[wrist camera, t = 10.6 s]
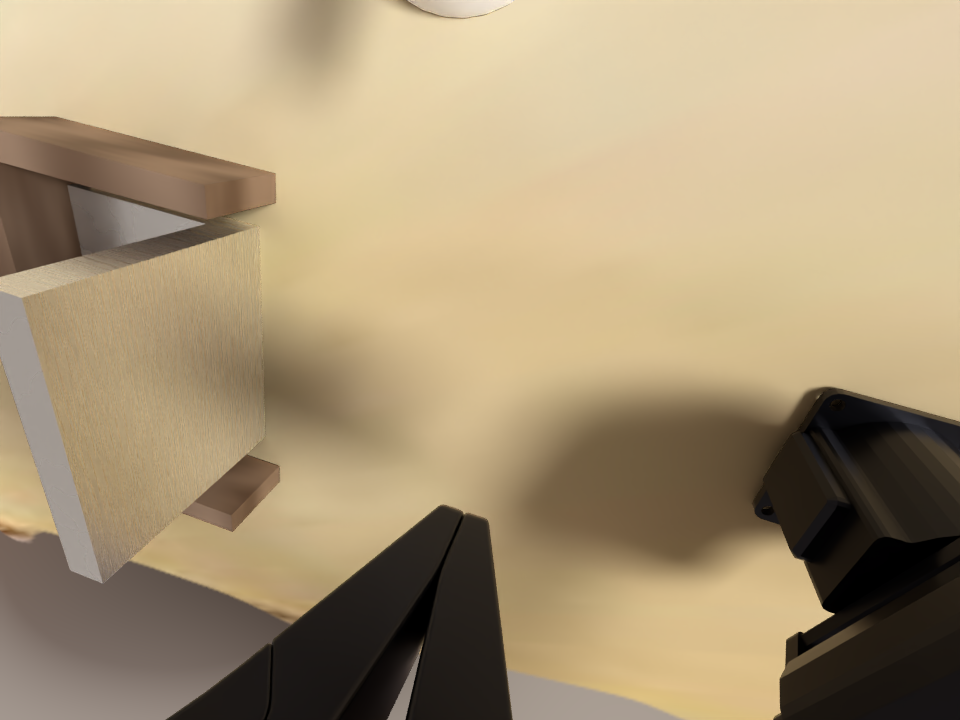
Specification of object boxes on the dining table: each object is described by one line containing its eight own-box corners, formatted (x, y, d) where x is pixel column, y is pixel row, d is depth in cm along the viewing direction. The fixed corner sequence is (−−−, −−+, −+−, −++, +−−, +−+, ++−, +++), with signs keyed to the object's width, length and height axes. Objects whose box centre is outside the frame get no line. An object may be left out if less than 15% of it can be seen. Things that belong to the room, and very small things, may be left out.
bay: (275, 173, 20) (204, 184, 17) (279, 481, 29) (232, 531, 25) (55, 116, 22) (-52, 116, 18) (119, 425, 30) (54, 465, 27)
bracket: (260, 225, 22) (21, 297, 13) (266, 436, 28) (102, 583, 19) (98, 181, 23) (-220, 220, 14) (136, 392, 29) (-74, 512, 20)
